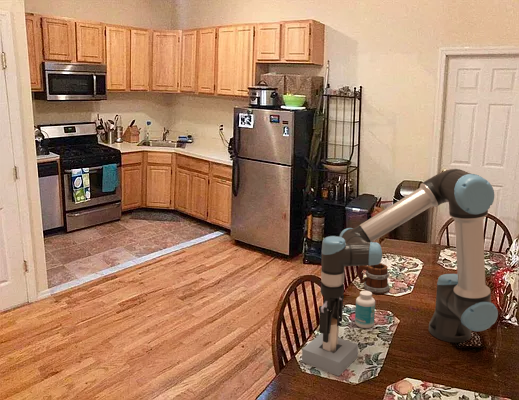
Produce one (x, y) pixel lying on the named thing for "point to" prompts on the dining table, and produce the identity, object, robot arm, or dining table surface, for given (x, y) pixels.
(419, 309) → the dining table surface
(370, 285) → the mug
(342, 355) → the socket
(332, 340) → the peg
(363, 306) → the pill bottle
